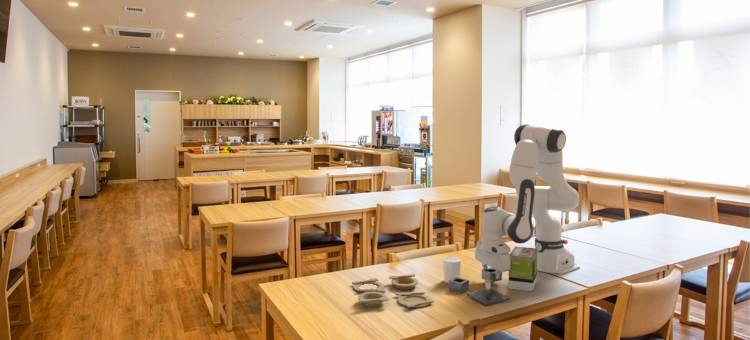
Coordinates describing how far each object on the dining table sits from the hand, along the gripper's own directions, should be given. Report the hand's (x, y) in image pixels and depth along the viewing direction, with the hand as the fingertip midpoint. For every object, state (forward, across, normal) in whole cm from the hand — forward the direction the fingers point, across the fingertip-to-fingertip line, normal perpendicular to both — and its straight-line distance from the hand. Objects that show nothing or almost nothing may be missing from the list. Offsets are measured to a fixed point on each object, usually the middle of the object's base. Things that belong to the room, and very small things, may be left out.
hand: (491, 275), depth 210 cm
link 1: (+3, 0, -17) cm, 17 cm away
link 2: (+2, 0, 0) cm, 2 cm away
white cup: (+4, -10, -14) cm, 17 cm away
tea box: (+4, +7, +11) cm, 14 cm away
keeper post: (+3, +13, -12) cm, 18 cm away
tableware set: (+4, -8, -45) cm, 46 cm away
